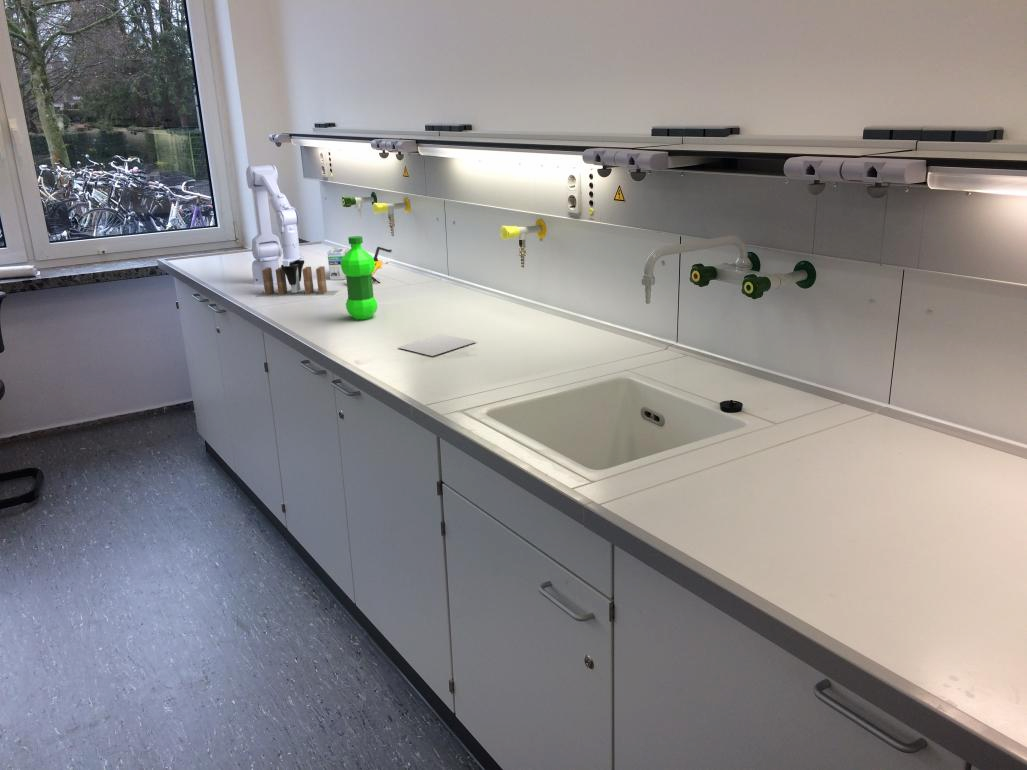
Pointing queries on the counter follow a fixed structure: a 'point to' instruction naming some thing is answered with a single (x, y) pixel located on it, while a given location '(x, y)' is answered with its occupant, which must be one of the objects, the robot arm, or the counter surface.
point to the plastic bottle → (359, 280)
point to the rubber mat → (298, 293)
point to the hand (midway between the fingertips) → (295, 282)
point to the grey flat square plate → (437, 344)
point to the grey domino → (296, 287)
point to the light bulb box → (336, 263)
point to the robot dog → (378, 261)
